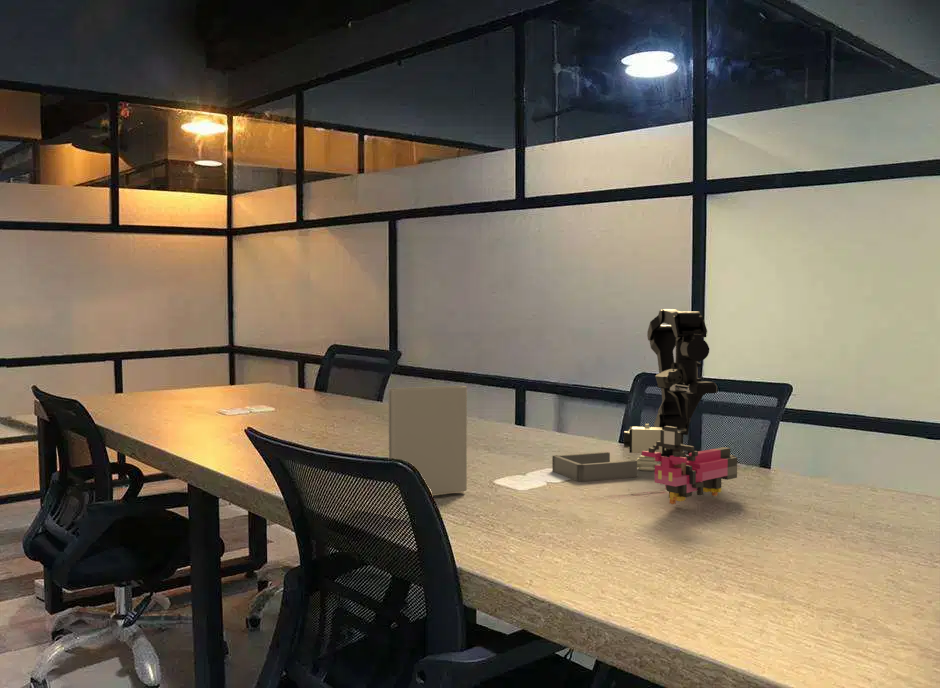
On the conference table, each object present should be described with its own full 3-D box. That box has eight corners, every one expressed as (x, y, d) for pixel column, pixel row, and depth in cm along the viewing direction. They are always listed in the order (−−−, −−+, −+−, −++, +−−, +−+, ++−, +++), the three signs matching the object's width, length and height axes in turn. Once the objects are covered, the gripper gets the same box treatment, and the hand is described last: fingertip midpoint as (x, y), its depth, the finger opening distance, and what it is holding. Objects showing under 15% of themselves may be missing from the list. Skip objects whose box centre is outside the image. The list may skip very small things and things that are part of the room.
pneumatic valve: (670, 472, 215) (670, 425, 215) (623, 470, 218) (624, 424, 217) (669, 468, 221) (669, 422, 220) (624, 466, 223) (624, 421, 223)
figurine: (641, 502, 182) (642, 425, 182) (710, 486, 198) (711, 416, 197) (683, 511, 174) (684, 431, 173) (752, 494, 190) (753, 421, 189)
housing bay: (607, 466, 223) (607, 451, 223) (637, 476, 209) (637, 461, 209) (552, 471, 217) (552, 455, 217) (579, 481, 204) (579, 465, 203)
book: (394, 498, 185) (394, 390, 184) (388, 495, 189) (388, 388, 188) (469, 491, 193) (469, 386, 192) (462, 487, 197) (462, 385, 196)
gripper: (640, 357, 228) (640, 415, 228) (682, 361, 210) (681, 423, 211) (675, 356, 232) (675, 413, 232) (718, 360, 214) (718, 421, 215)
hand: (685, 417), depth 223 cm, fingers closed
